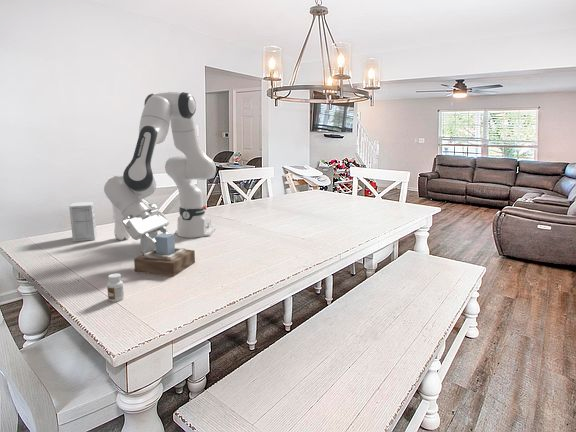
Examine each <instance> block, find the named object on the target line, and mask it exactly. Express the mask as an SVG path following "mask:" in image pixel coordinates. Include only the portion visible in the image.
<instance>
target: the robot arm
mask: <svg viewBox="0 0 576 432" xmlns="http://www.w3.org/2000/svg"><path fill="white" fill-rule="evenodd" d="M143 106H144V107H143V110H142V113H141V117H140V121H139V128H138V139H137V142H136V145H135V148H134V152H133V156H132V159H131V160H130V162H129V163H128V165H127V166H126V167H125V169H124V171H123V175H121V176H118V175H116V176H115V175H114V176H112V177H111V178H109V179H108V180H107V182H105V184H104V187H103V193H104V195H105V197H106V198H107V199H108V200H109V202H111V204H113V205H114V206H115V207H116V208H118V209H119V210H120V211H121V213H122V215H123V216H124V217H125V218H123V219H122V223H123V225H124V227H125V229H126V231H127V232H128V233H129V235H130V237H131V239H133V240H135V241H138V240H140V238H142V239H143V240H145V241H147V242H149V243H150V244H151V245H154V244H155V243H156V242H157V241H156V240H155V239H152V238H151V237H149V235H150V234H152V233H154V232H157V233H158V232H161V233H166V234H170V233H169V232H168V228H167V226H168V225H169V224H170V222H169V220H168V218H167V217H166V216H165V214H163V212H162V211H160V210H159V209H158V206H157V205H156V204H155V203H147V202H144V201H143V200H144V199H146V198H148V197H149V196H151V195H152V194H154V192H155V190H156V189H157V182H156V180H155V177H154V174H153V171H152V165H151V163H152V159H153V156H154V151H155V148H156V145H158V144H159V145H160V144H161V143H164V142H165V140H166V138H167V136H168V133H169V129H171V134H172V139H173V140H172V141H173V144H174V146H175V148H176V150H178V151H180V152H181V153H182V154H183V155H184V156H182V155H181V156H172V157H169V158H168V159H167V160H166V161H165V165H164V169H165V172H166V174H167V176H168V177H170V178H171V179H172V181H173V182H174V183H175V185H176V187H177V190H178V194H179V195H178V196H179V209H178V212H179V216H178V218H177V227H176V228H177V230H175V232H174V234H176V235H177V236H178V237H182V238H188V239H189V238H190V239H191V238H202V237H210V236H212V234H213V233H214V232H215V231H216V230H217V228H216V226H213V225H212V219H211V218H210V217H209V216H208V215H207V214H206V210H207V208H208V207H207V206H206V205H204V200H203V199H204V195H203V191H202V189H201V188H199V187H198V186H196V184H195V183H194V181H193V180H195V181H205V180H206V181H207V180H212V179H213V178H214V177H215V175H216V172H217V167H216V162H215V161H214V160H213V159H212V158H211V157H209V156H208V155H207V154H206V153H205V151H203V149H202V146H201V145H200V142H199V138H198V133H197V128H196V122H195V118H194V115H195V113H196V110H197V104H196V100H195V98H194V96H193V95H192V94H191V93H188V92H185V91H184V92H179V91H168V92H159V93H158V92H153V93H150V94H148V95H147V96H146V98H145V100H144V105H143ZM169 127H170V128H169Z"/></svg>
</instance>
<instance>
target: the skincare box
mask: <svg viewBox="0 0 576 432" xmlns="http://www.w3.org/2000/svg"><path fill="white" fill-rule="evenodd" d="M157 235H159V234H158V231H157V232H154V233H152V234H150V235H149V237H151V238H152V239H155V236H157ZM139 240H140V252H141V253H143V254H145V253H147V252H149V251H151V250H153V249H155V248H156V243H155V244H154V245H151V244H150V243H149V242H147V241H145V240H143V239H142V238H140V239H139Z"/></svg>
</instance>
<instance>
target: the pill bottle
mask: <svg viewBox="0 0 576 432" xmlns="http://www.w3.org/2000/svg"><path fill="white" fill-rule="evenodd" d="M107 279H108V282H107V284H106V288H107V289H106V290H107V299H108V301H109V302H113V303H115V302H120V301H122V300H123V299H124V298H125V296H124V295H125V294H124V282H123V281H122V280H121V279H122V276H121V274H120V273H111V274H108V277H107Z"/></svg>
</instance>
